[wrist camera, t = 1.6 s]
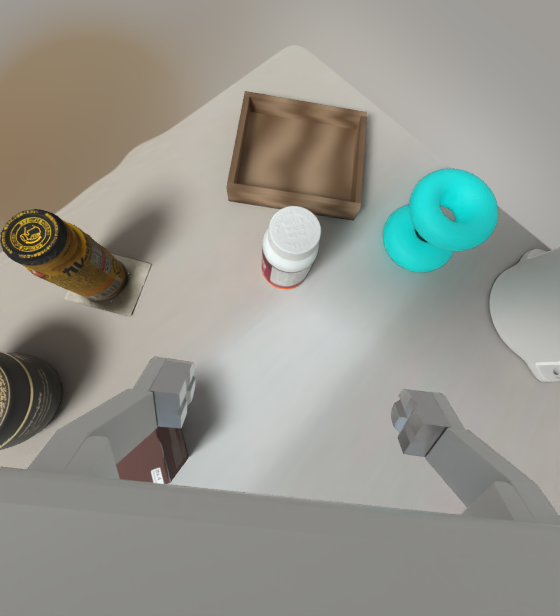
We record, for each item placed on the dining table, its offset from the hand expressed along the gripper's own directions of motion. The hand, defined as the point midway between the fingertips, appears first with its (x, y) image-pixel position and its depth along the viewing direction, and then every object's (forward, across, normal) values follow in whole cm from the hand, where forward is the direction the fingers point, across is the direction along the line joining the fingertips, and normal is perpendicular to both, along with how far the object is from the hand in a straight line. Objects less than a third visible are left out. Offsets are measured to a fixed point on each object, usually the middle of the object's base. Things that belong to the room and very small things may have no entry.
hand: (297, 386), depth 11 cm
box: (+11, +12, +24) cm, 29 cm away
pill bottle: (+28, 0, +8) cm, 29 cm away
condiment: (+24, +22, +11) cm, 34 cm away
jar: (+14, +28, +22) cm, 38 cm away
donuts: (+32, -18, +2) cm, 37 cm away
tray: (+39, 0, -5) cm, 40 cm away
